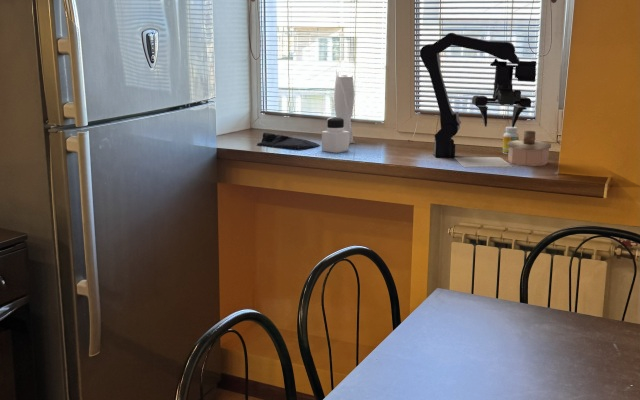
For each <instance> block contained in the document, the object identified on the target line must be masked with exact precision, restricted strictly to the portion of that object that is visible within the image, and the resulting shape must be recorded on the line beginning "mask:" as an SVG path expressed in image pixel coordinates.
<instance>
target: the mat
mask: <svg viewBox="0 0 640 400" xmlns="http://www.w3.org/2000/svg"><path fill="white" fill-rule="evenodd" d="M454 160H455V161H457V162H458V164H460V165H461V166H462V167H463V168H496V167H497V168H503V167H505V168H512V167H514V166H513V165H512V164H511V163H510V162H507V161H506V160H504V159H503V158H502V157H500V156H498V157H497V156H496V157H495V156H494V157H491V156H490V157H489V156H487V157H480V156H479V157H474V156H473V157H469V156H468V157H454Z"/></svg>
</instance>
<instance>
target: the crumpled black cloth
mask: <svg viewBox="0 0 640 400" xmlns="http://www.w3.org/2000/svg"><path fill="white" fill-rule="evenodd" d="M261 139H262V140H261V142H258V143H256V145H257V146H259V147H260V146H261V147H268V148H269V147H270V148H279V149H286V150H297V151H298V150H302V149H312V148H319V147H321V145H320V143H316V142H314V141H310V140H309V139H303V138H297V137H291V136H287V135H283V134H276V133H271V132H263V133H262V138H261Z"/></svg>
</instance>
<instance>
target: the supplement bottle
mask: <svg viewBox="0 0 640 400" xmlns="http://www.w3.org/2000/svg"><path fill="white" fill-rule="evenodd" d="M502 139H503V140H502V153H503V154H506V155H508V154H509V146H507V142H509V141H515V140H519V139H520V135H519V133H518V127H517V126H514V127H512V126H505V133H503V136H502Z"/></svg>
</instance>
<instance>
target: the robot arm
mask: <svg viewBox="0 0 640 400" xmlns="http://www.w3.org/2000/svg"><path fill="white" fill-rule="evenodd" d="M452 46H455V47H459V48H460V47H461V48H465V49H468V50H472V51H473V50H474V51H477V52H483V53H486V54H488V55H491V56H492V57H494V58H495V59H494V60H493V62H491V63H490V67H495V73H494V74H495V75H494V82H493V94H492V98H491V97H487V96H485V95H477V94H476V95H475V94H474V95H473V96H472V99H471V104H472V105H474V106H475V107H476V108H478V109H479V111H480V114H481V116H482V120H483V125H484V127H487V126H488V108H489V107H488V106H487V104H491V105H493V104H495V105H501V106H505V105H509V106H513V110H512V116H511V118H512V119H511V127H515V126H516V123H517V121H518V119H519V116H520V114H521V113H522V112H523V111H524V110H527V108H531V106H532V99H530V98H529V97H527V96H522V91H521V90H520V89H516V90H515V89H514V90H513V87H514V86H513V75H514V79H517V82H524V83H525V82H526V83H527V82H529V83H535V82H536V77H537V76H536V75H537V70H536V68H537V61H536V60H530V61H528V60H527V61H526V60H520V58H519V57H518V56H517V54H516V47H515V45H514V44H513V43H512V42H509V41H502V40H501V41H497V40H495V41H494V40H484V39H480V38H475V37H472V36H471V37H470V36H466V35H463V34H457V33H454V32H450V33H447V34H446V35H445V36H444V37H442V38H440V39H438V40H437V41H435V42H433V43H429V44H425V45H423V46H422V47H421V48H420V51H419V57H420V58H421V61H422V63H423V65H424V67H425V69H426V71H427V72H428V75H429V77H430V81H431V85H432V88H433V92H434V94H435V99H436V103H437V107H438V110H439V117H440V118H439V120H440V121H439V122H440V129H439V130H438V131H437V132H436V133H435V134H434V145H433V154H432V156H434V158H436V159H453V158H454V159H455V156H456V144H455V140H454V139H453V137H454V136H456V135H457V134H458V132H459V131H460V128H461V124H462V121H461V120H460V118H459V116H460V115H459V111H456V112H454V110H453V108H452V106H451V103H450V99H449V95H448V92H447V88H446V85H445V81H444V78H443V73H442V71H441V57H440V56H441V55H440V53H442V52H444V51H445V50H446V49H448V48H450V47H452ZM497 58H498V59H500V60H498V59H497ZM507 61H509V62H510V63H511V64H508V62H507ZM514 68H515V70H514Z"/></svg>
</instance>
